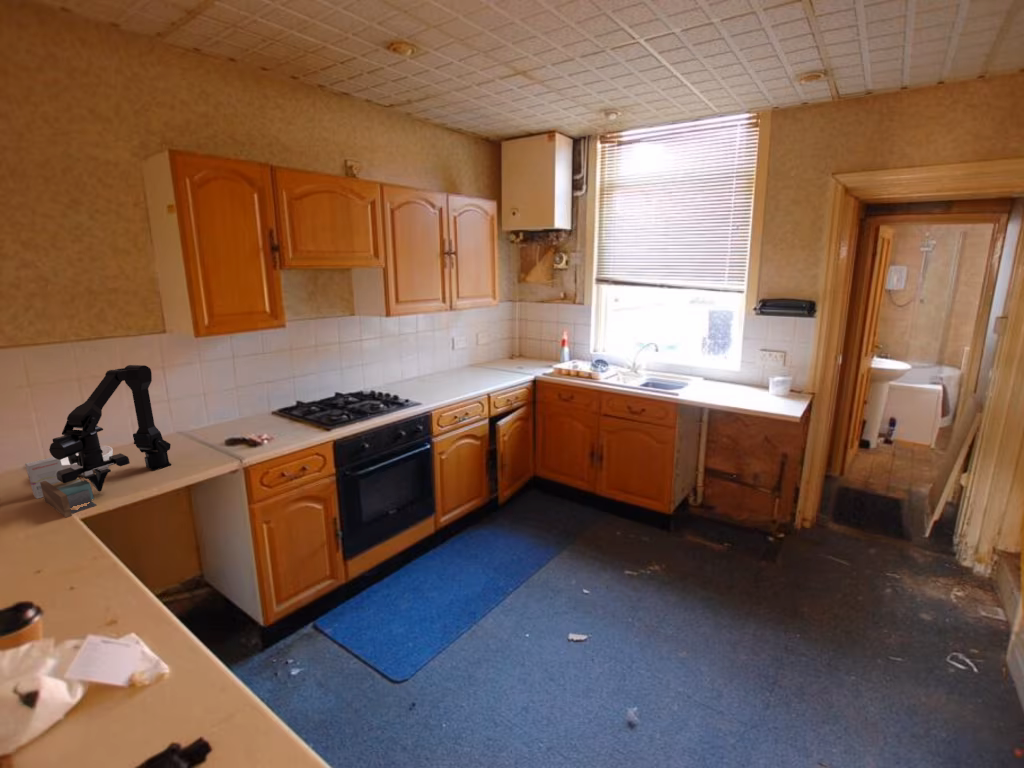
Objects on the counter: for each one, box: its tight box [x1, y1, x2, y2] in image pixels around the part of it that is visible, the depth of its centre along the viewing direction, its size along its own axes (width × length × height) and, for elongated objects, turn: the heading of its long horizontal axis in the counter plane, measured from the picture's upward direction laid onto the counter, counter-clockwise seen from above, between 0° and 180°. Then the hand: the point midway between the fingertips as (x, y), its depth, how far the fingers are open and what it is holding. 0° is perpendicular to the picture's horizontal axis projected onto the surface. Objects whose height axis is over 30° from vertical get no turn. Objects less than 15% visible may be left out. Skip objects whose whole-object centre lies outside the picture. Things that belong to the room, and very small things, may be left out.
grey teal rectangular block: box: [58, 479, 95, 501], centre depth 175 cm, size 8×4×6 cm, turn 146°
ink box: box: [24, 456, 63, 500], centre depth 182 cm, size 8×5×12 cm, turn 141°
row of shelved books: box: [51, 477, 82, 489], centre depth 178 cm, size 8×6×6 cm
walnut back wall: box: [40, 481, 73, 518], centre depth 171 cm, size 2×19×7 cm, turn 55°
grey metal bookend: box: [67, 489, 97, 515], centre depth 172 cm, size 7×5×4 cm, turn 145°
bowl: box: [51, 445, 114, 477], centre depth 201 cm, size 20×20×6 cm
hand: (99, 490), depth 180 cm, fingers closed
